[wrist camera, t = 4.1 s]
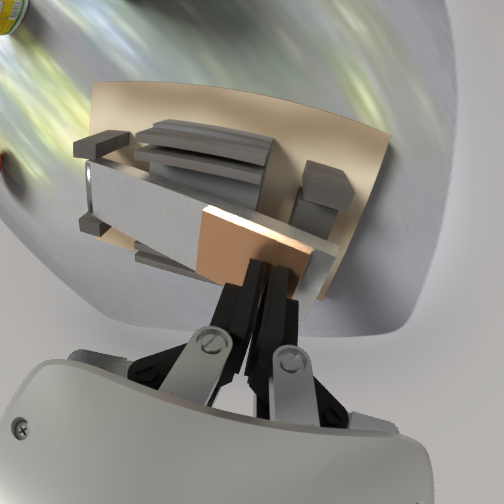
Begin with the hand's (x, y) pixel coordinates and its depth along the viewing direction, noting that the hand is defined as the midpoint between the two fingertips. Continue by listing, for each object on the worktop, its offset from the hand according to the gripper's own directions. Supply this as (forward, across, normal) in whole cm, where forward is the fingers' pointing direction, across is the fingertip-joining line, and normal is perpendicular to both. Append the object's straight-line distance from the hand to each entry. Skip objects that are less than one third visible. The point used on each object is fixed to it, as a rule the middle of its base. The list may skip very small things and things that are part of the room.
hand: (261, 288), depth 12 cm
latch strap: (+3, +5, -1) cm, 6 cm away
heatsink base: (+10, +5, -1) cm, 11 cm away
